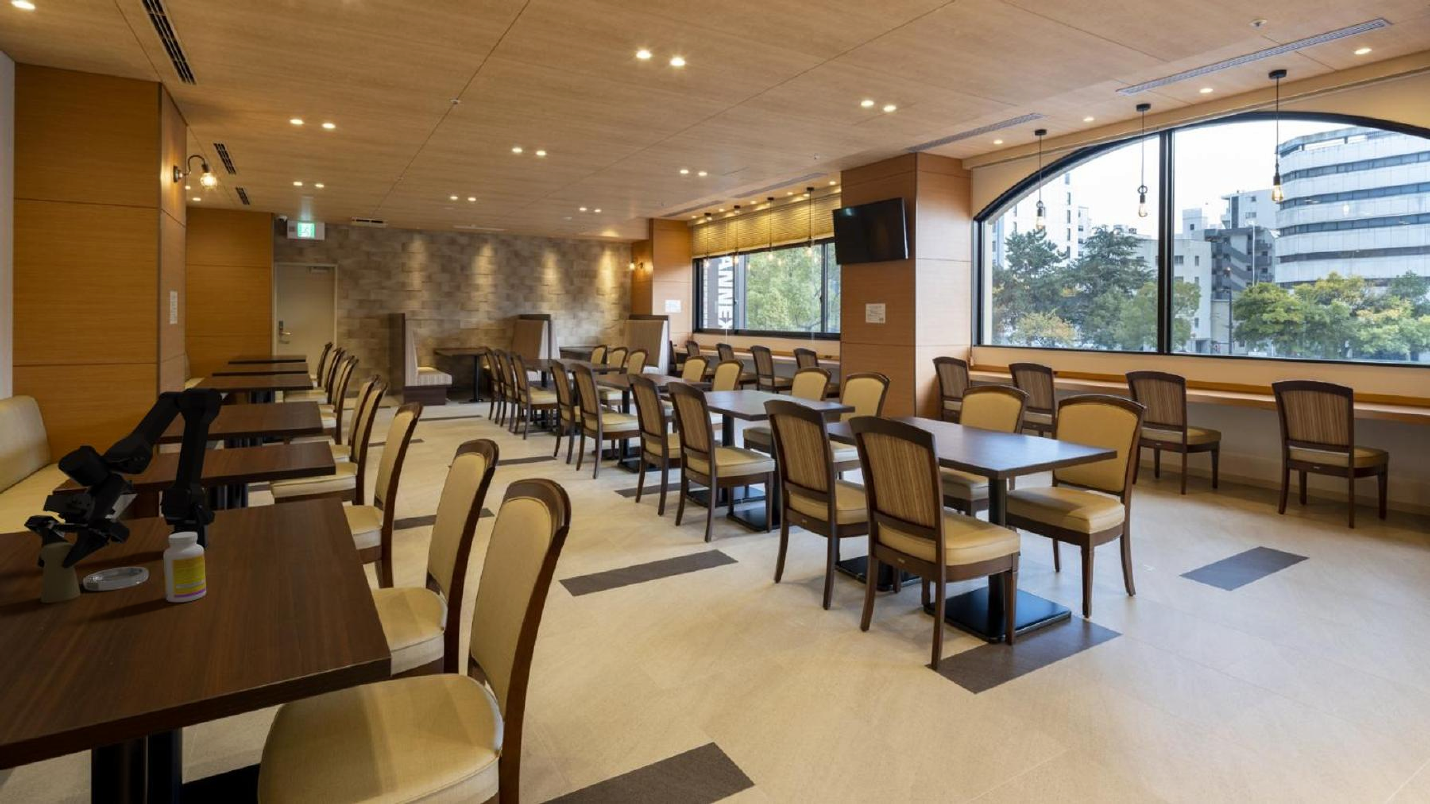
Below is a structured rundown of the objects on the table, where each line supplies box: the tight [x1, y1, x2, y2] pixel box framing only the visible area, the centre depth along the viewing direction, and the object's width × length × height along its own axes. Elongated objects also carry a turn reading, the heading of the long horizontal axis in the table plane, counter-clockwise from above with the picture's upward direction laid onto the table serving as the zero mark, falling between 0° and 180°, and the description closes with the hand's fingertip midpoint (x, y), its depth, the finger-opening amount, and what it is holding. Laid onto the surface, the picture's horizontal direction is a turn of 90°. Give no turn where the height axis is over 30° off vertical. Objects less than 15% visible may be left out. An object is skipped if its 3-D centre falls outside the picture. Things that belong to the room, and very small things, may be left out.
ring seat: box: [82, 566, 149, 592], centre depth 160 cm, size 10×10×2 cm
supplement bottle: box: [162, 532, 207, 603], centre depth 151 cm, size 7×7×13 cm
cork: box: [39, 541, 81, 604], centre depth 151 cm, size 6×6×11 cm
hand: (51, 567), depth 149 cm, fingers closed on cork, 5 cm apart
